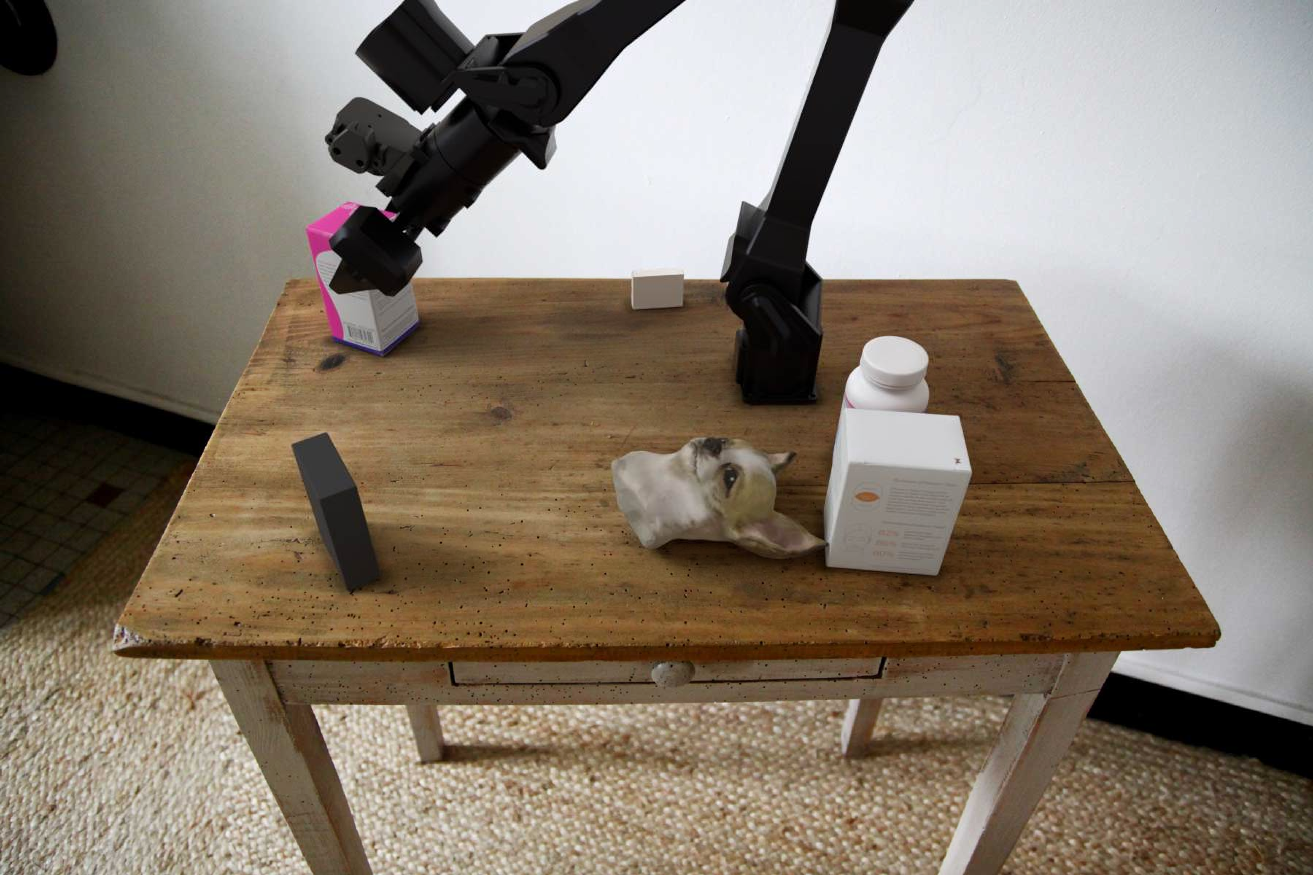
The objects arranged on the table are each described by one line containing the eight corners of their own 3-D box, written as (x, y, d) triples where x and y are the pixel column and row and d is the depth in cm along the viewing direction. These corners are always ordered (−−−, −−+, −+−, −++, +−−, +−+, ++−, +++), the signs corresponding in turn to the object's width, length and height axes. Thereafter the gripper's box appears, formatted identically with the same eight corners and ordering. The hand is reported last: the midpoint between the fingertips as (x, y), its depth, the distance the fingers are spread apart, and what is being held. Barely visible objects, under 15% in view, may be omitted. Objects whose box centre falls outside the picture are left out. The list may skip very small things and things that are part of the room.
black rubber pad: (353, 522, 68) (326, 431, 62) (381, 577, 64) (356, 485, 58) (320, 535, 67) (290, 443, 61) (348, 592, 63) (318, 500, 57)
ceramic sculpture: (605, 393, 65) (809, 389, 68) (600, 480, 71) (787, 473, 74) (621, 502, 58) (850, 494, 60) (613, 589, 64) (823, 578, 66)
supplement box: (422, 324, 86) (402, 213, 79) (382, 358, 82) (357, 245, 75) (371, 308, 88) (347, 198, 80) (330, 341, 84) (300, 228, 76)
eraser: (682, 306, 90) (684, 273, 87) (633, 310, 89) (633, 277, 87) (680, 299, 91) (682, 266, 88) (631, 302, 90) (631, 270, 87)
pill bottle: (912, 452, 75) (944, 339, 67) (901, 503, 71) (934, 388, 63) (838, 434, 76) (861, 322, 69) (823, 483, 72) (846, 369, 64)
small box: (928, 520, 69) (963, 414, 62) (938, 578, 65) (976, 471, 58) (821, 511, 70) (843, 404, 63) (823, 568, 66) (847, 460, 59)
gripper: (426, 31, 75) (326, 146, 84) (328, 124, 62) (220, 251, 70) (526, 133, 80) (421, 233, 88) (456, 241, 66) (340, 347, 75)
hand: (356, 261), depth 80 cm, fingers open, 9 cm apart
